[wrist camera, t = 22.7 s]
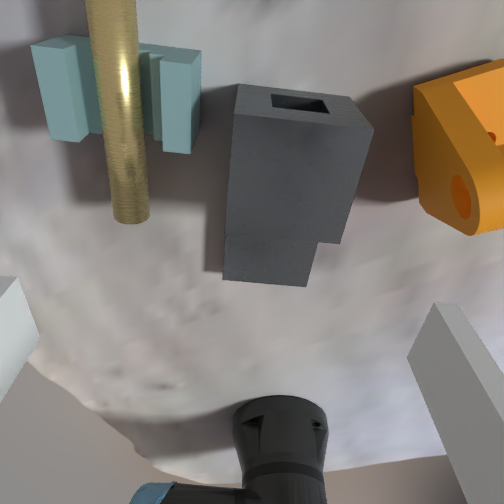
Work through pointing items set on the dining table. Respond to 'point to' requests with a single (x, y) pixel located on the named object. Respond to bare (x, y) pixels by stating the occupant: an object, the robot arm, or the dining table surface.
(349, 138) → the block
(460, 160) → the bracket
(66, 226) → the dining table surface
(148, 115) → the v block
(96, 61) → the axle
